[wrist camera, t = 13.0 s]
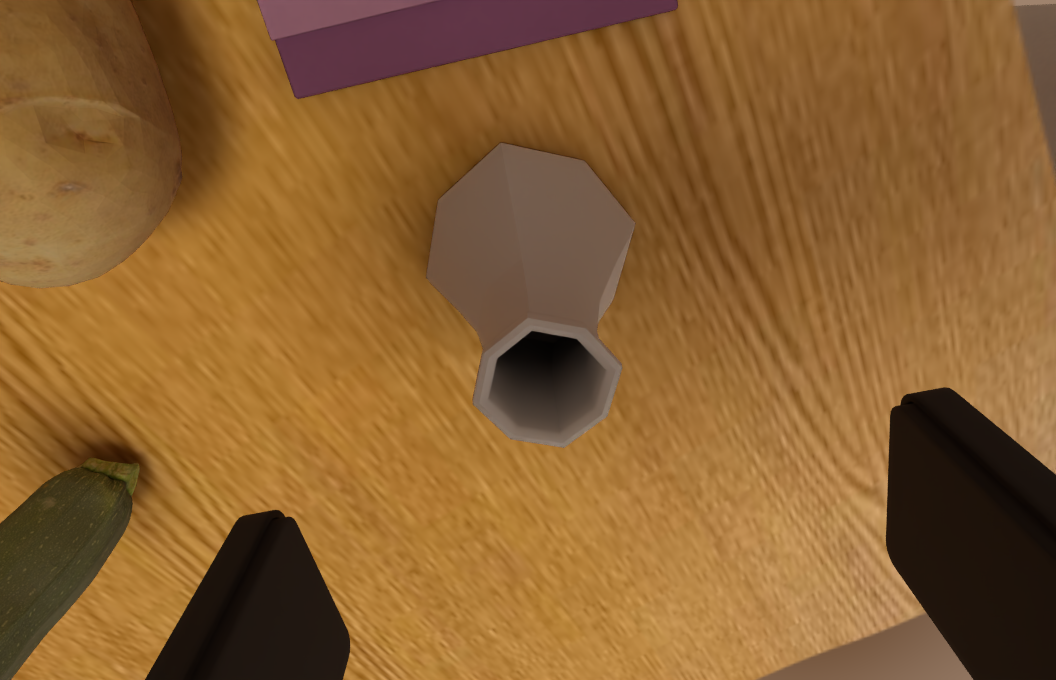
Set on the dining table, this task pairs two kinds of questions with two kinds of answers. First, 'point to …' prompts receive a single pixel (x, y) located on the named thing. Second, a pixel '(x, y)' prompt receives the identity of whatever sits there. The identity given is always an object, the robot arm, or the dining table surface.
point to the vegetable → (58, 550)
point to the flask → (534, 287)
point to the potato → (79, 140)
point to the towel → (421, 33)
